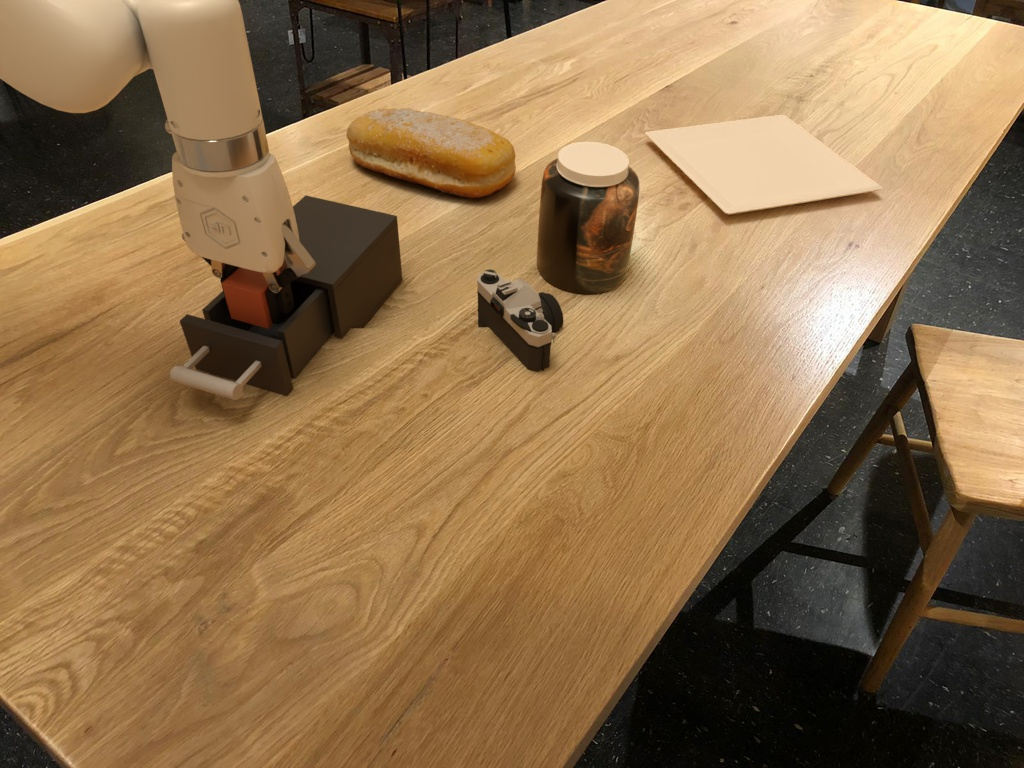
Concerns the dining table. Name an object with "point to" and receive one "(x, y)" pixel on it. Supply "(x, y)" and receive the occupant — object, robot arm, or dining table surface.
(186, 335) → the drawer
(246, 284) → the block
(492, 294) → the camera
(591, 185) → the jar
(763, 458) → the dining table surface
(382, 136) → the bread
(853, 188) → the plate
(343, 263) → the cabinet
